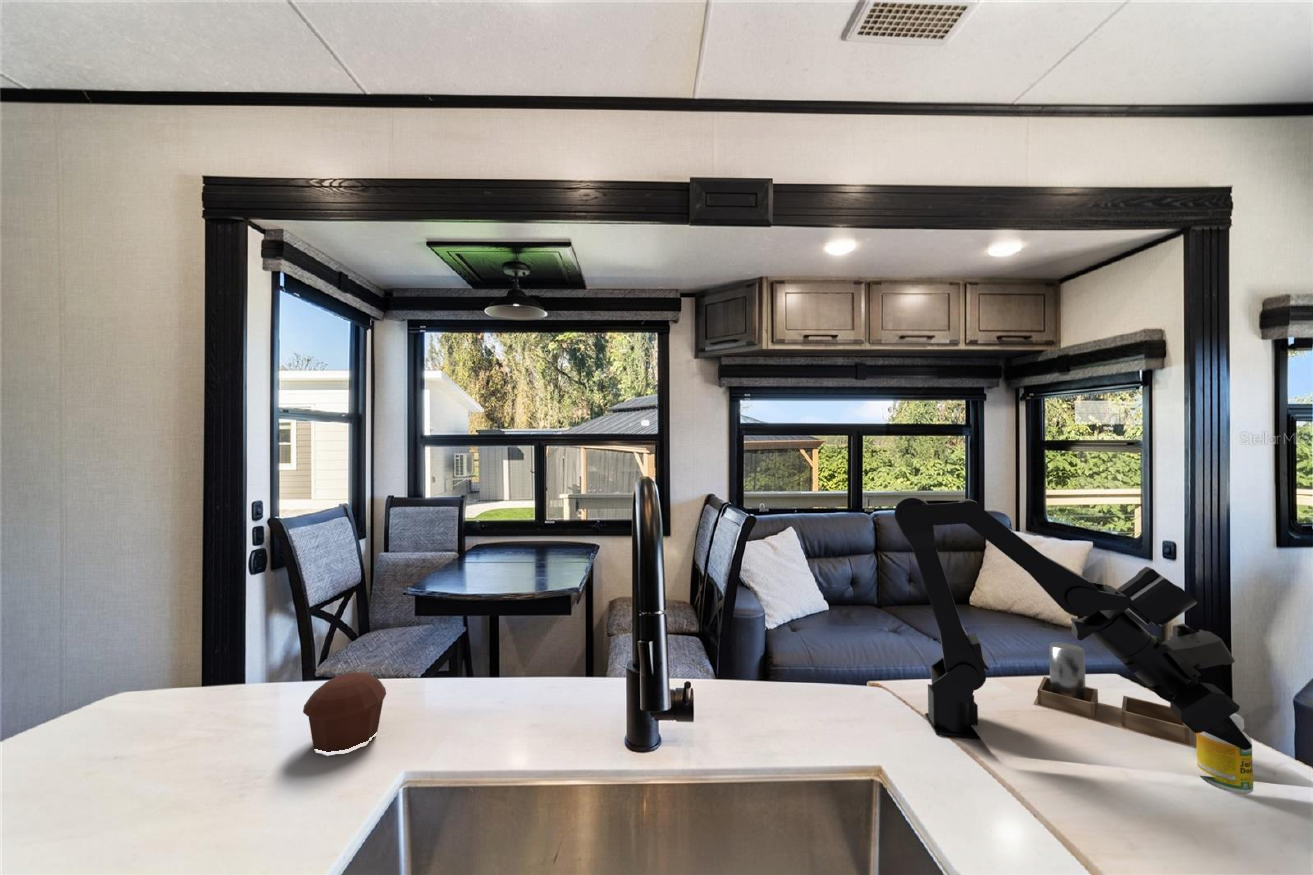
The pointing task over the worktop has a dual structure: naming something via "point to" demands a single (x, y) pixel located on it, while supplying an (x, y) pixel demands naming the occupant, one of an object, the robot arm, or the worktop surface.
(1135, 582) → the robot arm
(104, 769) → the worktop surface
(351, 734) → the muffin
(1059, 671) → the graphite billet
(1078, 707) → the wooden compartment tray
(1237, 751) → the supplement bottle
